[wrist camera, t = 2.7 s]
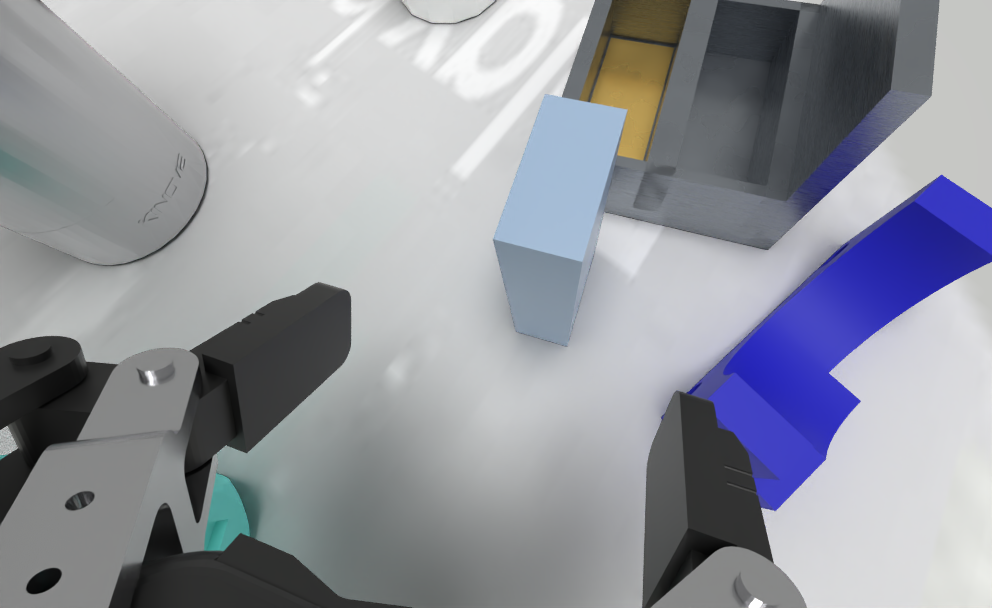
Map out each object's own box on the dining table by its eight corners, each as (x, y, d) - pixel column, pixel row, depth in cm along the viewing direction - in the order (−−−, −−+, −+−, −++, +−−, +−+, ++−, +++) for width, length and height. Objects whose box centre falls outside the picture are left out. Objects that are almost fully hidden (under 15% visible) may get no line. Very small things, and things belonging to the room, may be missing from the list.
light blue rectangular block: (516, 331, 22) (493, 239, 13) (545, 239, 24) (544, 94, 14) (567, 346, 22) (582, 261, 12) (594, 251, 23) (627, 109, 14)
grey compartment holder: (544, 197, 24) (542, 32, 15) (596, 42, 27) (622, -180, 18) (767, 249, 22) (931, 96, 13) (799, 76, 25) (952, -156, 16)
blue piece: (741, 502, 19) (823, 522, 14) (659, 418, 21) (702, 403, 15) (928, 314, 21) (1071, 261, 15) (840, 246, 22) (941, 174, 16)
